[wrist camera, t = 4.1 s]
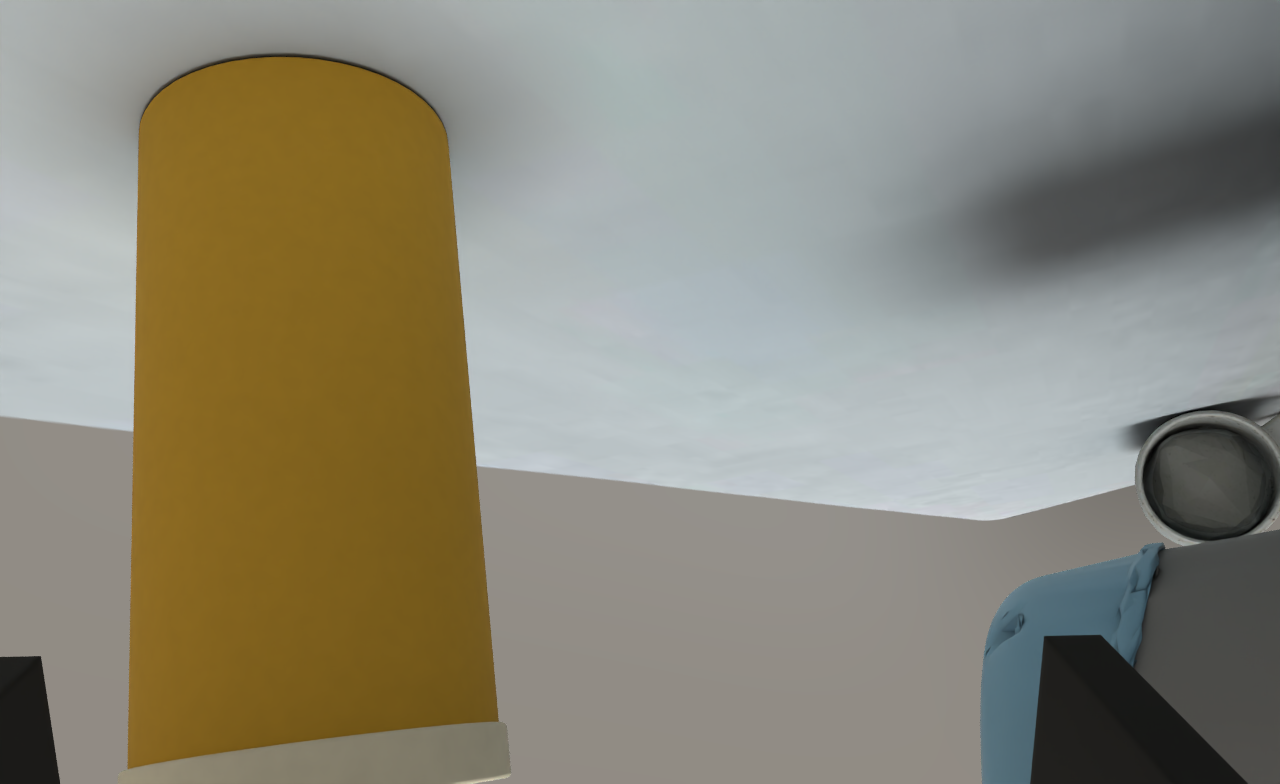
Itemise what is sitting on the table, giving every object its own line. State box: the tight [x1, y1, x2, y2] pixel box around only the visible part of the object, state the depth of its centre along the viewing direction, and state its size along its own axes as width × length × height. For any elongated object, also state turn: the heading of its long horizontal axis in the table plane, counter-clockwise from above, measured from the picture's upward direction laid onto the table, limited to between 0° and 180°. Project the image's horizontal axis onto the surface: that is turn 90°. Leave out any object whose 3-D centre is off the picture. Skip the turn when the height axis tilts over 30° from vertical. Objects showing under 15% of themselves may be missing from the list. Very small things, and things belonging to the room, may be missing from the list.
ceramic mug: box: [1135, 410, 1280, 546], centre depth 62 cm, size 11×8×8 cm
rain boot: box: [118, 57, 511, 784], centre depth 26 cm, size 16×7×14 cm, turn 164°
